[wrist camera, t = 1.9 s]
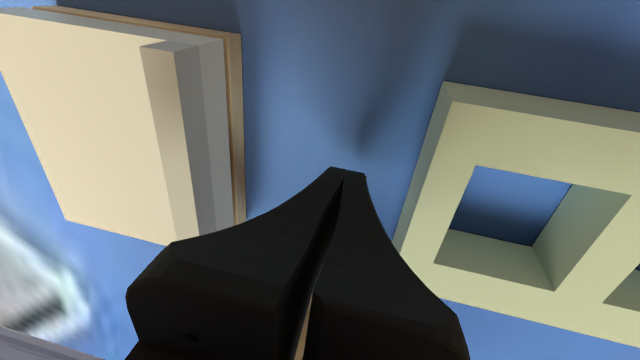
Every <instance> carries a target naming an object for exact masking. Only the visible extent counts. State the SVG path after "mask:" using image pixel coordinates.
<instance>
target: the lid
mask: <svg viewBox="0 0 640 360" xmlns="http://www.w3.org/2000/svg"><path fill="white" fill-rule="evenodd" d="M0 71H1V73H2V75H3V78H4V80H5V82H6V84H7V87H8V89H9V91H10V94H11V96H12V98H13V100H14V103H15V105H16V107H17V109H18V112H19V114H20V116H21V119H22V121H23V123H24V125H25V128H26V130H27V132H28V135H29V137H30V139H31V141H32V144H33V146H34V148H35V150H36V153H37V155H38V157H39V160H40V162H41V164H42V166H43V169H44V171H45V173H46V176H47V178H48V180H49V182H50V185H51V187H52V189H53V191H54V194H55V196H56V198H57V201H58V203H59V205H60V207H61V210H62V212H63V214H64V217H65V219H66V220H68V221H72V222H76V223H80V224H84V225H87V226H91V227H95V228H99V229H103V230H107V231H111V232H115V233H118V234H122V235H126V236H130V237H134V238H138V239H142V240H146V241H150V242H153V243H157V244H161V245H165V246H168V245H169V244H170V243H171V242H174V241H179V240H183V239H188V238H192V237H196V236H201V235H205V234H209V233H213V232H216V231H219V230H223V229H226V228H229V227H232V226H234V219H233V202H232V185H231V168H230V151H229V133H228V116H227V99H226V82H225V65H224V47H223V39H220V38H214V37H208V36H201V35H195V34H189V33H182V32H176V31H170V30H163V29H157V28H151V27H144V26H138V25H132V24H125V23H119V22H113V21H106V20H100V19H94V18H87V17H81V16H75V15H68V14H62V13H56V12H49V11H43V10H37V9H30V8H24V7H6V8H0Z"/></svg>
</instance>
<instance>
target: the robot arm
mask: <svg viewBox="0 0 640 360" xmlns="http://www.w3.org/2000/svg"><path fill="white" fill-rule="evenodd" d="M322 265H323V266H322ZM319 273H320V274H319ZM317 278H318V279H317ZM312 292H313V293H312ZM311 295H312V300H311V306H310V313H309V320H308V327H307V334H306V341H305V347H304V354H303V358H302V360H470V356H469V351H468V347H467V344H466V341H465V338H464V335H463V332H462V329H461V326H460V323H459V320H458V317H457V315H456V314H455V313H454V312H453V311H452V310H451V309H450V308H449V307H448V306H447V305H446V304H445V303H444V302H442V301H441V300H440V299H439V298H438V297H437V296H436V295H435V294H434V293H433V292H432V291H431V290H430V289H429V288H428V287H427V286H426V285H425V284H424V283H423V282H422V281H421V280H420V279H419V277H418V276H417V275H416V274H415V273H414V272H413V271H412V270H411V268H410V267H409V266H408V264H407V263H406V262H405V261H404V259H403V258H402V257H401V255H400V254H399V253H398V251H397V250H396V248H395V247H394V245H393V244H392V242H391V240H390V239H389V237H388V235H387V234H386V232H385V230H384V228H383V226H382V224H381V222H380V220H379V218H378V216H377V213H376V211H375V208H374V206H373V203H372V200H371V197H370V194H369V191H368V187H367V182H366V176H365V174H364V173H360V172H355V171H350V170H345V169H340V168H336V167H329V168H328V169H327V170H326V171H325V172H324V173H322V174H321V175H320V176H319V177H318V178H317V179H316V180H315V181H313V182H312V183H311V184H310V185H308V186H307V187H306V188H305V189H303V190H302V191H301V192H299V193H298V194H296V195H295V196H293V197H292V198H290V199H289V200H288V201H286V202H284V203H283V204H281V205H279V206H278V207H276V208H274V209H272V210H270V211H269V212H266V213H264V214H262V215H260V216H257V217H255V218H253V219H250V220H248V221H246V222H243V223H241V224H238V225H235V226H232V227H229V228H226V229H223V230H219V231H216V232H213V233H209V234H205V235H201V236H196V237H192V238H188V239H183V240H179V241H174V242H171V243H170V244H169V245H168V246H167V247H166V248H165V249H163V250H162V251H161V252H160V253H159V254H158V255H157V256H156V257H155V259H154V260H153V261H152V262H151V263H150V264H149V265H148V266H147V267H146V268H145V270H144V271H143V272H142V273H141V274H140V275H139V276H138V277H137V278H136V279H135V281H134V282H133V283H132V284H131V285H130V286H129V287H128V288H127V292H126V296H125V297H126V303H127V309H128V312H129V315H130V317H131V320H132V323H133V325H134V328H135V331H136V333H137V336H138V339H139V341H138V343H137V344H136V345H135V347H134V348H133V349H132V351H131V352H130V353H129V355H128V356H127V357H126V359H125V360H294V358H295V355H296V351H297V347H298V343H299V340H300V336H301V332H302V328H303V325H304V321H305V317H306V314H307V310H308V306H309V303H310V299H311ZM0 360H105V359H102V358H99V357H96V356H93V355H90V354H87V353H84V352H80V351H77V350H74V349H71V348H68V347H65V346H62V345H58V344H55V343H52V342H49V341H46V340H43V339H40V338H37V337H33V336H30V335H27V334H24V333H21V332H18V331H15V330H11V329H8V328H5V327H2V326H0Z"/></svg>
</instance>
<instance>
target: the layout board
mask: <svg viewBox="0 0 640 360" xmlns="http://www.w3.org/2000/svg"><path fill="white" fill-rule="evenodd" d="M31 7H32V9H37V10H43V11H49V12H56V13H62V14H68V15H75V16H81V17H87V18H94V19H100V20H106V21H113V22H119V23H125V24H132V25H138V26H144V27H151V28H157V29H163V30H170V31H176V32H182V33H189V34H195V35H201V36H208V37H214V38H220V39H223V47H224V65H225V82H226V99H227V116H228V133H229V151H230V168H231V185H232V202H233V219H234V226H235V225H238V224H241V223H243V222H245V221H246V187H245V152H244V117H243V83H242V48H241V34H237V33H230V32H224V31H218V30H211V29H205V28H198V27H192V26H185V25H179V24H172V23H166V22H159V21H153V20H146V19H140V18H133V17H127V16H121V15H114V14H108V13H101V12H95V11H88V10H82V9H75V8H69V7H62V6H31Z"/></svg>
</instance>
